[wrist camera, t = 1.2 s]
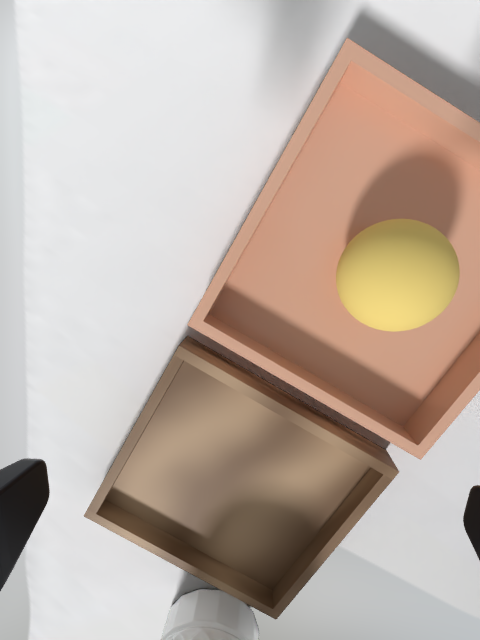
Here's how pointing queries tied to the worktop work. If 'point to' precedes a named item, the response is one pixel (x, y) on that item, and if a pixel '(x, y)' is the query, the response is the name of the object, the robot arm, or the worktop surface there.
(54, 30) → the worktop surface
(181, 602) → the white cup
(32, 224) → the worktop surface
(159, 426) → the tray
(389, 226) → the ball
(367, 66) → the dish
